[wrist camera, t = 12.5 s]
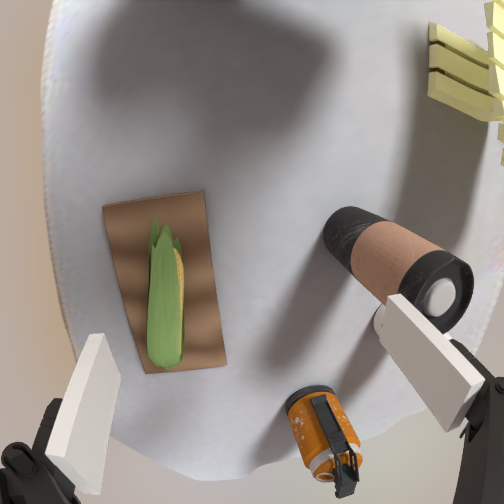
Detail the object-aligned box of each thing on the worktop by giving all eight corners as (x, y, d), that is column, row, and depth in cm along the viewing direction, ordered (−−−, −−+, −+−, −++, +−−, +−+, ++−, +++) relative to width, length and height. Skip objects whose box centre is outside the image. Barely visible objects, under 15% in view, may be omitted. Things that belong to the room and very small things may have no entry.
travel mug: (333, 269, 42) (416, 356, 24) (312, 221, 40) (402, 291, 21) (378, 242, 42) (476, 309, 24) (361, 194, 39) (471, 242, 21)
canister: (285, 421, 52) (316, 511, 34) (282, 381, 48) (320, 483, 30) (332, 409, 53) (373, 492, 35) (334, 368, 49) (387, 459, 31)
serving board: (104, 204, 35) (102, 207, 34) (203, 190, 36) (203, 192, 35) (147, 368, 43) (146, 373, 42) (226, 359, 45) (227, 365, 44)
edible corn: (142, 373, 37) (175, 382, 37) (141, 217, 31) (182, 223, 31) (156, 352, 42) (187, 359, 42) (160, 209, 36) (197, 215, 36)
